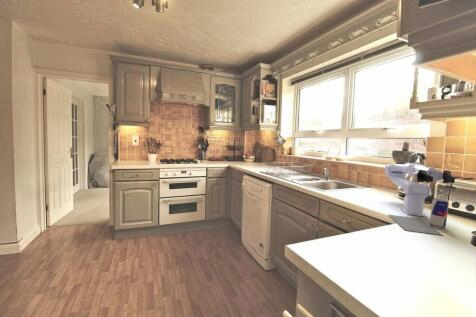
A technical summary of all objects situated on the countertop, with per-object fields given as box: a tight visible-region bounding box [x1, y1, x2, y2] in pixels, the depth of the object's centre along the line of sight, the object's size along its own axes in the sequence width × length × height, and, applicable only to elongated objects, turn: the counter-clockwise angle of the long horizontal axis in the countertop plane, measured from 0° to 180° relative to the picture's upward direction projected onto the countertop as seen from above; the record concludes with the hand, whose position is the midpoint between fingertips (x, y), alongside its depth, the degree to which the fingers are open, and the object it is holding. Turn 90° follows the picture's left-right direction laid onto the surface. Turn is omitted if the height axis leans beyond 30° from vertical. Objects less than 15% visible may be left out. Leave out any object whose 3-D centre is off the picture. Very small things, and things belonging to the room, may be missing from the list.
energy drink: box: [428, 197, 450, 230], centre depth 100 cm, size 5×5×12 cm
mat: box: [388, 214, 444, 237], centre depth 103 cm, size 20×13×1 cm, turn 164°
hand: (442, 179), depth 97 cm, fingers open, 7 cm apart
